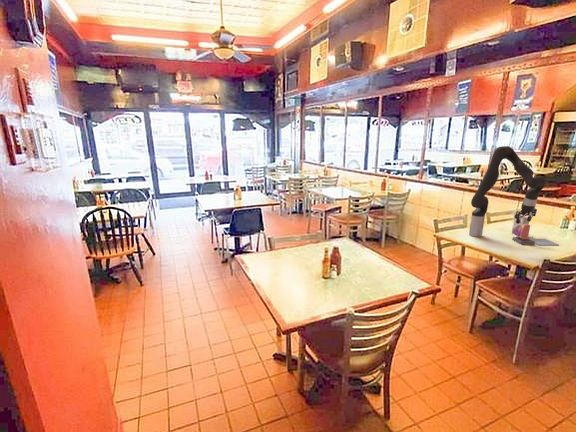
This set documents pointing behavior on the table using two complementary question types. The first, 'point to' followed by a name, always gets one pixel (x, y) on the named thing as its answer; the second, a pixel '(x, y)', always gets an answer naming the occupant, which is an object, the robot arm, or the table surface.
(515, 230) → the candy bar box
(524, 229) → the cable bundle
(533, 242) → the tie collar
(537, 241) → the slate mat
